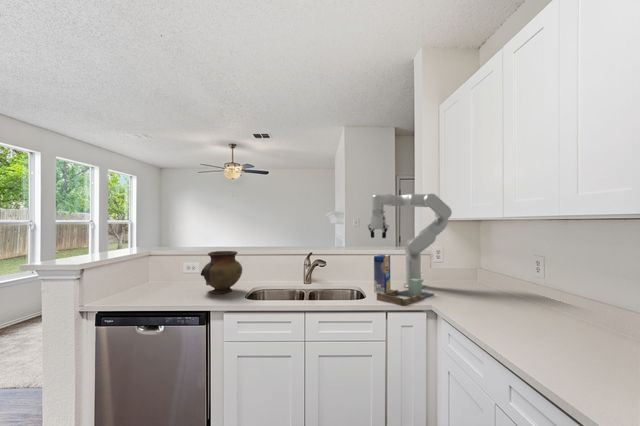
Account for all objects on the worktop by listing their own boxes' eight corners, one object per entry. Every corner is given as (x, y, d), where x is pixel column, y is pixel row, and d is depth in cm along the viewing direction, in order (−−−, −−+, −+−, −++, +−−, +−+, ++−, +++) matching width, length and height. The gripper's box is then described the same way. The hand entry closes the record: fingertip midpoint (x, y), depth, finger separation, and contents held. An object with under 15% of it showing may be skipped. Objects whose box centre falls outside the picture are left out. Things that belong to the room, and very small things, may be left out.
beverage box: (390, 290, 193) (390, 255, 193) (385, 293, 183) (384, 257, 184) (380, 288, 196) (379, 254, 197) (374, 292, 187) (373, 256, 187)
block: (414, 291, 184) (413, 278, 185) (421, 293, 181) (421, 279, 181) (408, 293, 180) (408, 279, 181) (416, 294, 177) (416, 280, 177)
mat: (409, 290, 191) (409, 289, 191) (433, 294, 179) (433, 293, 179) (396, 294, 182) (396, 292, 182) (421, 299, 170) (421, 297, 170)
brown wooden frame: (396, 294, 181) (396, 288, 182) (420, 299, 170) (420, 292, 170) (376, 299, 169) (376, 293, 169) (401, 305, 157) (401, 298, 157)
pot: (204, 299, 173) (203, 255, 173) (197, 291, 193) (196, 252, 193) (247, 292, 185) (246, 252, 186) (237, 286, 206) (236, 249, 206)
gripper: (391, 212, 204) (392, 238, 204) (371, 213, 217) (371, 237, 216) (385, 212, 199) (385, 238, 199) (364, 213, 212) (364, 237, 211)
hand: (378, 237), depth 207 cm, fingers open, 9 cm apart
